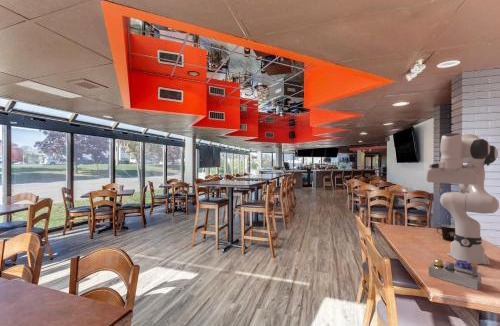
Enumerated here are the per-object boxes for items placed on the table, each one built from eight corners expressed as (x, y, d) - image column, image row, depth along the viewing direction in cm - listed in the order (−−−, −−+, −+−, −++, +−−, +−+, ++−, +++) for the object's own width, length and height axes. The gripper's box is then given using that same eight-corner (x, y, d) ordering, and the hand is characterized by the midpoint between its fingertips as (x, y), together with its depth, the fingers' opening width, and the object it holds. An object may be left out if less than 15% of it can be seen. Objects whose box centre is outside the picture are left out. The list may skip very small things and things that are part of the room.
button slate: (447, 268, 122) (447, 261, 122) (454, 270, 119) (454, 263, 119) (445, 270, 120) (445, 263, 120) (453, 272, 117) (453, 265, 117)
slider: (473, 273, 114) (473, 262, 114) (477, 274, 113) (477, 263, 113) (472, 275, 112) (472, 264, 112) (476, 276, 111) (476, 265, 111)
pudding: (464, 266, 133) (464, 257, 133) (486, 277, 121) (486, 266, 121) (443, 267, 133) (443, 257, 133) (462, 277, 121) (462, 266, 121)
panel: (434, 270, 128) (434, 261, 128) (481, 283, 114) (481, 273, 114) (428, 275, 122) (428, 266, 122) (477, 290, 108) (477, 279, 108)
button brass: (436, 265, 125) (436, 258, 125) (443, 267, 123) (443, 260, 123) (434, 267, 123) (434, 260, 123) (441, 269, 121) (441, 262, 121)
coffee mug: (455, 239, 180) (455, 225, 180) (457, 242, 173) (457, 228, 173) (435, 236, 186) (435, 223, 186) (436, 239, 179) (436, 226, 179)
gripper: (480, 165, 117) (480, 194, 117) (429, 165, 133) (429, 190, 133) (477, 165, 113) (477, 195, 113) (425, 165, 129) (425, 191, 129)
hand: (451, 192), depth 123 cm, fingers open, 8 cm apart
